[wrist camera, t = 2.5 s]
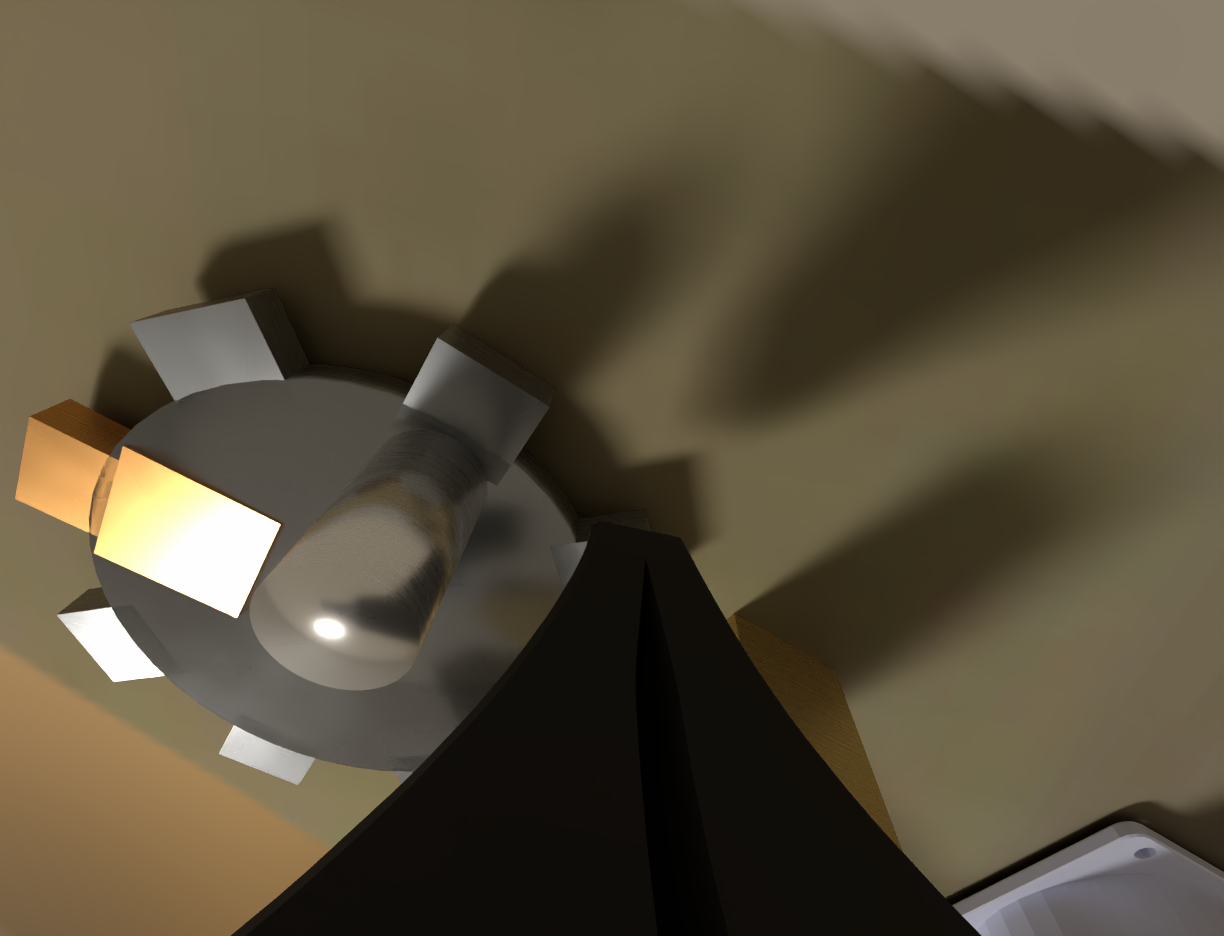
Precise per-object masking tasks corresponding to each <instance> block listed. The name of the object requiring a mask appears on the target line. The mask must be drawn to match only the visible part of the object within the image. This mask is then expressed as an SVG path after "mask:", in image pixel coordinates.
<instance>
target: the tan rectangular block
mask: <svg viewBox="0 0 1224 936" xmlns="http://www.w3.org/2000/svg"><path fill="white" fill-rule="evenodd" d="M727 622H728V623H729V625H730V627H731V628H732V630H733V632H734V633H735V635H736V636H737V638H738V640H739V641H740V643H741V645H742V646H743V648H744V649H745V651H746V653H747V654H748V656H749V658H750V659H751V661H752V662H753V664H754V665H755V667H756V668H757V670H758V671H759V673H760V674H761V676H762V677H763V679H764V680H765V682H766V683H767V685H768V686H769V687H770V689H771V690H772V692H773V693H774V695H775V696H776V697H777V699H778V700H779V702H780V703H781V705H782V706H783V708H784V709H785V710H786V712H787V713H788V715H789V716H790V717H791V719H792V720H793V721H794V723H795V724H796V725H797V727H798V728H799V729H800V731H801V732H802V733H803V735H804V736H805V737H806V739H807V740H808V741H809V742H810V744H811V745H812V746H813V747H814V749H815V750H816V751H817V752H818V753H819V755H820V756H821V757H822V758H823V760H824V761H825V762H826V763H827V765H828V766H829V767H830V768H831V770H832V771H833V772H834V773H835V775H836V776H837V777H838V778H839V780H840V781H841V782H842V783H843V785H844V786H845V787H846V788H847V790H848V791H849V792H850V793H851V794H852V796H853V797H854V798H855V799H856V800H857V801H858V803H859V804H860V805H861V806H862V807H863V808H864V809H865V811H866V812H867V813H868V814H869V815H870V816H871V818H872V819H873V820H874V821H875V822H876V823H877V825H878V826H879V827H880V828H881V829H882V830H883V831H884V832H885V833H886V834H887V836H888V837H889V838H890V839H891V840H892V841H893V842H894V843H895V844H896V845H897V846H898V848H899V849H900V850H901V851H902V849H901V846H900V844H899V841H898V838H897V836H896V833H895V830H894V828H893V825H892V822H891V819H890V817H889V814H888V811H887V809H886V806H885V803H884V801H883V798H882V795H881V793H880V790H879V787H878V785H877V782H876V779H875V777H874V774H873V771H872V768H871V766H870V763H869V760H868V758H867V755H866V752H865V750H864V747H863V744H862V742H861V739H860V736H859V734H858V731H857V728H856V725H855V723H854V720H853V717H852V715H851V712H850V709H849V707H848V704H847V701H846V699H845V696H844V693H843V691H842V688H841V685H840V683H839V680H838V677H837V674H836V672H835V670H833V669H831V668H830V667H828V666H826V665H824V664H823V663H821V662H819V661H817V660H816V659H814V658H812V657H810V656H809V655H807V654H805V653H803V652H802V651H800V650H798V649H796V648H795V647H793V646H791V645H789V644H788V643H786V642H784V641H782V640H781V639H779V638H777V637H775V636H774V635H772V634H770V633H768V632H766V631H765V630H763V629H761V628H759V627H758V626H756V625H754V624H752V623H751V622H749V621H747V620H745V619H744V618H742V617H740V616H738V615H737V614H735V613H734V614H733V615H732V616H731V617H729V618H728V619H727Z"/></svg>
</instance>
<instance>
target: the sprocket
mask: <svg viewBox="0 0 1224 936" xmlns="http://www.w3.org/2000/svg"><path fill="white" fill-rule="evenodd" d="M129 324H130V326H131V328H132V329H133V331H134V333H135V335H136V336H137V338H138V340H139V341H140V343H141V345H142V346H143V348H144V350H145V351H146V353H147V355H148V356H149V358H150V360H151V361H152V363H153V365H154V367H155V368H156V370H157V372H158V373H159V375H160V377H161V378H162V380H163V382H164V383H165V385H166V387H167V388H168V390H169V392H170V394H171V395H172V397H173V399H174V401H172V402H170V403H168V404H167V405H165V406H163V407H161V408H160V409H158V410H157V411H155V412H154V413H152V414H151V415H149V416H148V417H147V418H145V419H144V420H142V421H141V422H139V423H138V424H136V425H135V426H134V427H133V428H132V429H129V428H127V427H125V426H123V425H121V424H119V423H117V422H115V421H113V420H111V419H109V418H107V417H105V416H103V415H101V414H99V413H97V412H95V411H93V410H91V409H89V408H87V407H85V406H83V405H81V404H79V403H77V402H75V401H74V400H72V399H68V400H66V401H64V402H62V403H59V404H57V405H55V406H52V407H50V408H48V409H46V410H43V411H41V412H39V413H36V414H34V415H32V416H30V417H29V422H28V428H27V434H26V439H25V445H24V451H23V457H22V462H21V468H20V474H19V480H18V485H17V491H16V497H15V499H17V500H19V501H21V502H23V503H25V504H28V505H30V506H32V507H34V508H36V509H39V510H41V511H43V512H45V513H47V514H49V515H52V516H54V517H56V518H58V519H60V520H62V521H65V522H67V523H69V524H71V525H73V526H76V527H78V528H80V529H82V530H84V531H86V532H89V535H90V547H91V552H92V557H93V561H94V566H95V571H96V573H97V576H98V578H99V581H100V584H101V586H102V587H101V588H94V589H88V590H87V591H86V592H85V593H83V594H82V595H81V596H80V597H78V598H77V599H76V600H75V601H73V602H72V603H71V604H70V605H68V606H67V607H66V608H65V609H63V610H62V611H61V612H60V613H58V614H57V616H58V617H59V618H60V619H61V620H62V622H63V623H64V624H65V625H66V626H67V628H68V629H69V630H70V631H71V632H72V633H73V635H74V636H75V637H76V638H77V639H78V640H79V642H80V643H81V644H82V645H83V646H84V647H85V649H86V650H87V651H88V652H89V653H90V654H91V656H92V657H93V658H94V659H95V660H96V661H97V663H98V664H99V665H100V666H101V667H102V669H103V670H104V671H105V672H106V673H107V674H108V676H109V677H110V678H111V679H112V680H113V681H114V682H116V681H124V680H133V679H141V678H149V677H158V676H166V677H167V678H168V679H169V680H170V681H172V682H173V683H174V684H175V685H176V686H177V687H179V688H180V689H181V690H182V691H184V692H185V693H186V694H188V695H189V696H190V697H191V698H193V699H194V700H195V701H197V702H198V703H199V704H201V705H202V706H204V707H205V708H207V709H209V710H210V711H212V712H213V713H215V714H216V715H218V716H219V717H221V718H222V719H224V720H226V721H228V722H230V723H231V724H233V725H234V726H233V728H232V730H231V732H230V734H229V736H228V737H227V739H226V741H225V743H224V745H223V747H222V749H221V751H220V753H219V754H221V755H223V756H226V757H228V758H231V759H233V760H236V761H238V762H241V763H243V764H246V765H249V766H251V767H254V768H256V769H259V770H261V771H264V772H266V773H269V774H271V775H274V776H276V777H279V778H282V779H284V780H287V781H289V782H292V783H294V784H297V785H298V784H299V783H300V781H301V780H302V778H303V777H304V775H305V774H306V772H307V771H308V769H309V768H310V766H311V765H312V763H313V762H314V760H315V759H320V760H323V761H327V762H332V763H336V764H341V765H346V766H351V767H357V768H365V769H373V770H381V771H395V773H396V775H397V776H398V778H399V780H400V781H401V783H403V782H404V781H405V780H406V779H407V778H408V777H409V776H410V775H411V774H412V773H413V772H414V771H415V770H416V769H417V768H418V767H419V766H420V765H421V764H422V763H423V762H424V761H425V760H426V759H427V758H428V757H429V756H430V755H431V754H432V753H433V752H434V751H435V750H436V748H437V747H438V746H439V745H440V744H441V743H442V742H443V741H444V740H445V739H446V738H447V737H448V736H449V735H450V734H451V733H452V732H453V731H454V729H455V728H456V727H457V726H458V725H459V724H460V723H461V722H462V721H463V720H464V719H465V718H466V717H467V716H468V715H469V713H470V712H471V711H472V710H473V709H474V708H475V707H476V706H477V704H478V703H479V702H480V701H481V700H482V699H483V697H484V696H485V695H486V694H487V693H488V692H489V691H490V689H491V688H492V687H493V686H494V685H495V684H496V682H497V681H498V680H499V679H500V678H501V676H502V675H503V674H504V673H505V671H506V670H507V669H508V668H509V666H510V665H511V664H512V663H513V661H514V660H515V659H516V658H517V656H518V655H519V654H520V652H521V651H522V650H523V648H524V647H525V646H526V644H527V643H528V641H529V640H530V639H531V637H532V636H533V635H534V633H535V632H536V630H537V629H538V628H539V626H540V625H541V623H542V622H543V621H544V619H545V618H546V617H547V615H548V614H549V612H550V611H551V609H552V608H553V606H554V605H555V603H556V601H557V600H558V598H559V596H560V595H561V593H562V591H563V590H564V588H565V586H566V585H567V583H568V581H569V580H570V578H571V576H572V575H573V573H574V571H575V569H576V567H577V565H578V563H579V561H580V559H581V557H582V555H583V553H584V550H585V548H586V544H587V540H588V536H589V533H590V529H591V525H593V524H595V523H597V522H599V521H604V522H609V523H614V524H618V525H623V526H628V527H632V528H637V529H642V530H646V531H651V530H650V525H649V520H648V515H647V510H646V509H642V510H635V511H628V512H621V513H614V514H607V515H601V516H594V517H587V518H579V517H578V515H577V513H576V511H575V509H574V507H573V505H572V504H571V503H570V501H569V500H568V498H567V497H566V496H565V494H564V493H563V491H562V490H561V489H560V487H559V486H558V484H557V483H556V481H555V480H554V479H553V478H552V477H551V476H550V475H549V474H548V473H547V471H546V470H545V469H544V468H543V467H542V466H541V465H540V464H539V463H538V462H537V461H536V460H535V458H534V457H533V456H532V455H531V454H529V453H528V452H527V451H526V450H525V449H524V448H523V447H524V445H525V444H526V442H527V441H528V439H529V438H530V436H531V435H532V433H533V432H534V430H535V429H536V427H537V426H538V424H539V423H540V421H541V420H542V418H543V417H544V415H545V414H546V412H547V411H548V409H549V408H550V405H551V403H552V400H553V397H554V394H555V391H556V388H554V387H552V386H551V385H549V384H548V383H546V382H545V381H543V380H541V379H540V378H538V377H537V376H535V375H533V374H532V373H530V372H529V371H527V370H525V369H524V368H522V367H521V366H519V365H517V364H516V363H514V362H513V361H511V360H509V359H508V358H506V357H505V356H503V355H501V354H500V353H498V352H497V351H495V350H493V349H492V348H490V347H489V346H487V345H485V344H484V343H482V342H481V341H479V340H478V339H476V338H474V337H473V336H471V335H470V334H468V333H466V332H465V331H463V330H462V329H460V328H458V327H457V326H455V325H454V324H452V325H451V326H450V327H448V328H447V329H446V330H445V331H444V332H443V333H442V334H441V335H440V336H439V337H438V338H437V340H436V341H435V343H434V345H433V347H432V349H431V351H430V353H429V355H428V357H427V359H426V360H425V362H424V364H423V366H422V368H421V370H420V372H419V374H418V376H417V378H416V380H415V381H414V383H411V382H408V381H406V380H403V379H399V378H395V377H392V376H388V375H384V374H380V373H376V372H372V371H368V370H365V369H357V368H350V367H343V366H335V365H328V364H309V361H308V359H307V357H306V355H305V353H304V351H303V348H302V346H301V344H300V342H299V340H298V338H297V335H296V333H295V331H294V329H293V327H292V325H291V322H290V320H289V318H288V316H287V314H286V312H285V309H284V307H283V305H282V303H281V301H280V299H279V296H278V294H277V292H276V290H275V288H274V287H273V288H269V289H264V290H259V291H255V292H250V293H245V294H241V295H236V296H231V297H227V298H222V299H217V300H213V301H208V302H203V303H199V304H194V305H189V306H185V307H180V308H175V309H171V310H166V311H163V312H160V313H157V314H154V315H151V316H148V317H145V318H142V319H139V320H136V321H133V322H130V323H129Z"/></svg>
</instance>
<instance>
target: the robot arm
mask: <svg viewBox="0 0 1224 936" xmlns="http://www.w3.org/2000/svg"><path fill="white" fill-rule="evenodd" d="M231 936H1224V872H1223V871H1221V870H1219V869H1218V868H1216V867H1214V866H1212V865H1211V864H1209V863H1207V862H1206V861H1204V860H1202V859H1200V858H1199V857H1197V856H1195V855H1194V854H1192V853H1190V852H1188V851H1187V850H1185V849H1183V848H1182V847H1180V846H1178V845H1176V844H1175V843H1173V842H1171V841H1170V840H1168V839H1166V838H1164V837H1163V836H1161V835H1159V834H1158V833H1156V832H1154V831H1152V830H1151V829H1149V828H1147V827H1146V826H1144V825H1142V824H1140V823H1137V822H1134V821H1123V822H1118V823H1115V824H1113V825H1110V826H1108V827H1106V828H1104V829H1102V830H1100V831H1098V832H1096V833H1094V834H1092V835H1090V836H1088V837H1087V838H1085V839H1083V840H1081V841H1079V842H1077V843H1075V844H1073V845H1071V846H1069V847H1067V848H1065V849H1063V850H1061V851H1059V852H1057V853H1055V854H1053V855H1051V856H1049V857H1047V858H1045V859H1043V860H1041V861H1039V862H1037V863H1035V864H1033V865H1031V866H1029V867H1027V868H1025V869H1023V870H1021V871H1019V872H1017V873H1015V874H1013V875H1011V876H1009V877H1007V878H1005V879H1003V880H1001V881H999V882H997V883H995V884H993V885H991V886H989V887H987V888H985V889H983V890H981V891H979V892H977V893H975V894H973V895H971V896H969V897H967V898H965V899H963V900H961V901H959V902H957V903H955V904H953V905H951V904H950V903H949V902H948V901H947V900H946V898H945V897H944V896H943V895H942V894H941V893H940V892H939V891H938V890H937V889H936V888H935V887H934V886H933V885H932V884H931V883H930V882H929V880H928V879H927V878H926V877H925V876H924V875H923V874H922V873H921V872H920V871H919V870H918V868H917V867H916V866H915V865H914V864H913V863H912V862H911V861H910V860H909V859H908V857H907V856H906V855H905V854H904V853H903V852H902V851H901V850H900V849H899V848H898V846H897V845H896V844H895V843H894V842H893V841H892V840H891V839H890V838H889V837H888V836H887V834H886V833H885V832H884V831H883V830H882V829H881V828H880V827H879V826H878V825H877V823H876V822H875V821H874V820H873V819H872V818H871V816H870V815H869V814H868V813H867V812H866V811H865V809H864V808H863V807H862V806H861V805H860V804H859V803H858V801H857V800H856V799H855V798H854V797H853V796H852V794H851V793H850V792H849V791H848V790H847V788H846V787H845V786H844V785H843V783H842V782H841V781H840V780H839V778H838V777H837V776H836V775H835V773H834V772H833V771H832V770H831V768H830V767H829V766H828V765H827V763H826V762H825V761H824V760H823V758H822V757H821V756H820V755H819V753H818V752H817V751H816V750H815V749H814V747H813V746H812V745H811V744H810V742H809V741H808V740H807V739H806V737H805V736H804V735H803V733H802V732H801V731H800V729H799V728H798V727H797V725H796V724H795V723H794V721H793V720H792V719H791V717H790V716H789V715H788V713H787V712H786V710H785V709H784V708H783V706H782V705H781V703H780V702H779V700H778V699H777V697H776V696H775V695H774V693H773V692H772V690H771V689H770V687H769V686H768V685H767V683H766V682H765V680H764V679H763V677H762V676H761V674H760V673H759V671H758V670H757V668H756V667H755V665H754V664H753V662H752V661H751V659H750V658H749V656H748V654H747V653H746V651H745V649H744V648H743V646H742V645H741V643H740V641H739V640H738V638H737V636H736V635H735V633H734V632H733V630H732V628H731V627H730V625H729V623H728V622H727V620H726V618H725V617H724V615H723V613H722V612H721V610H720V608H719V606H718V605H717V603H716V601H715V599H714V598H713V596H712V594H711V592H710V591H709V589H708V587H707V585H706V583H705V582H704V580H703V578H702V576H701V574H700V572H699V571H698V569H697V567H696V565H695V563H694V561H693V559H692V558H691V556H690V554H689V552H688V550H687V549H686V547H685V545H684V543H683V542H682V540H681V538H679V537H675V536H670V535H665V534H661V533H656V532H651V531H646V530H642V529H637V528H632V527H628V526H623V525H618V524H614V523H609V522H604V521H599V522H597V523H595V524H593V525H591V529H590V533H589V536H588V540H587V544H586V548H585V550H584V553H583V555H582V557H581V559H580V561H579V563H578V565H577V567H576V569H575V571H574V573H573V575H572V576H571V578H570V580H569V581H568V583H567V585H566V586H565V588H564V590H563V591H562V593H561V595H560V596H559V598H558V600H557V601H556V603H555V605H554V606H553V608H552V609H551V611H550V612H549V614H548V615H547V617H546V618H545V619H544V621H543V622H542V623H541V625H540V626H539V628H538V629H537V630H536V632H535V633H534V635H533V636H532V637H531V639H530V640H529V641H528V643H527V644H526V646H525V647H524V648H523V650H522V651H521V652H520V654H519V655H518V656H517V658H516V659H515V660H514V661H513V663H512V664H511V665H510V666H509V668H508V669H507V670H506V671H505V673H504V674H503V675H502V676H501V678H500V679H499V680H498V681H497V682H496V684H495V685H494V686H493V687H492V688H491V689H490V691H489V692H488V693H487V694H486V695H485V696H484V697H483V699H482V700H481V701H480V702H479V703H478V704H477V706H476V707H475V708H474V709H473V710H472V711H471V712H470V713H469V715H468V716H467V717H466V718H465V719H464V720H463V721H462V722H461V723H460V724H459V725H458V726H457V727H456V728H455V729H454V731H453V732H452V733H451V734H450V735H449V736H448V737H447V738H446V739H445V740H444V741H443V742H442V743H441V744H440V745H439V746H438V747H437V748H436V750H435V751H434V752H433V753H432V754H431V755H430V756H429V757H428V758H427V759H426V760H425V761H424V762H423V763H422V764H421V765H420V766H419V767H418V768H417V769H416V770H415V771H414V772H413V773H412V774H411V775H410V776H409V777H408V778H407V779H406V780H405V781H404V782H403V783H402V784H401V785H400V786H399V787H398V788H397V789H396V790H395V791H394V792H393V793H392V794H391V795H389V796H388V797H387V798H386V799H385V800H384V801H383V802H382V803H381V804H380V805H379V806H377V807H376V808H375V809H374V810H373V811H372V812H371V813H370V814H369V815H368V816H367V817H366V818H364V819H363V820H362V821H361V822H360V823H359V824H358V825H357V826H356V827H355V828H354V829H352V830H351V831H350V832H349V833H348V834H347V835H346V836H345V837H344V838H343V839H342V840H341V841H339V842H338V843H337V844H336V845H335V846H334V847H333V848H332V849H331V850H330V851H329V852H327V853H326V854H325V855H324V856H323V857H322V858H321V859H320V860H319V861H318V862H317V863H316V864H314V865H313V866H312V867H311V868H310V869H309V870H308V871H307V872H306V873H304V875H302V876H301V877H300V878H299V879H298V880H297V881H295V882H294V883H293V884H292V885H291V886H290V887H288V888H287V889H286V890H285V891H284V892H283V893H282V894H281V895H279V896H278V897H277V898H276V899H274V900H273V901H272V902H271V903H270V904H268V905H267V906H266V907H265V908H264V909H262V910H261V911H260V912H259V913H258V914H256V915H255V916H254V917H253V918H252V919H250V920H249V921H248V922H247V923H245V924H244V925H243V926H242V927H241V928H239V929H238V930H237V931H236V932H235V933H233V934H232V935H231Z"/></svg>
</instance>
